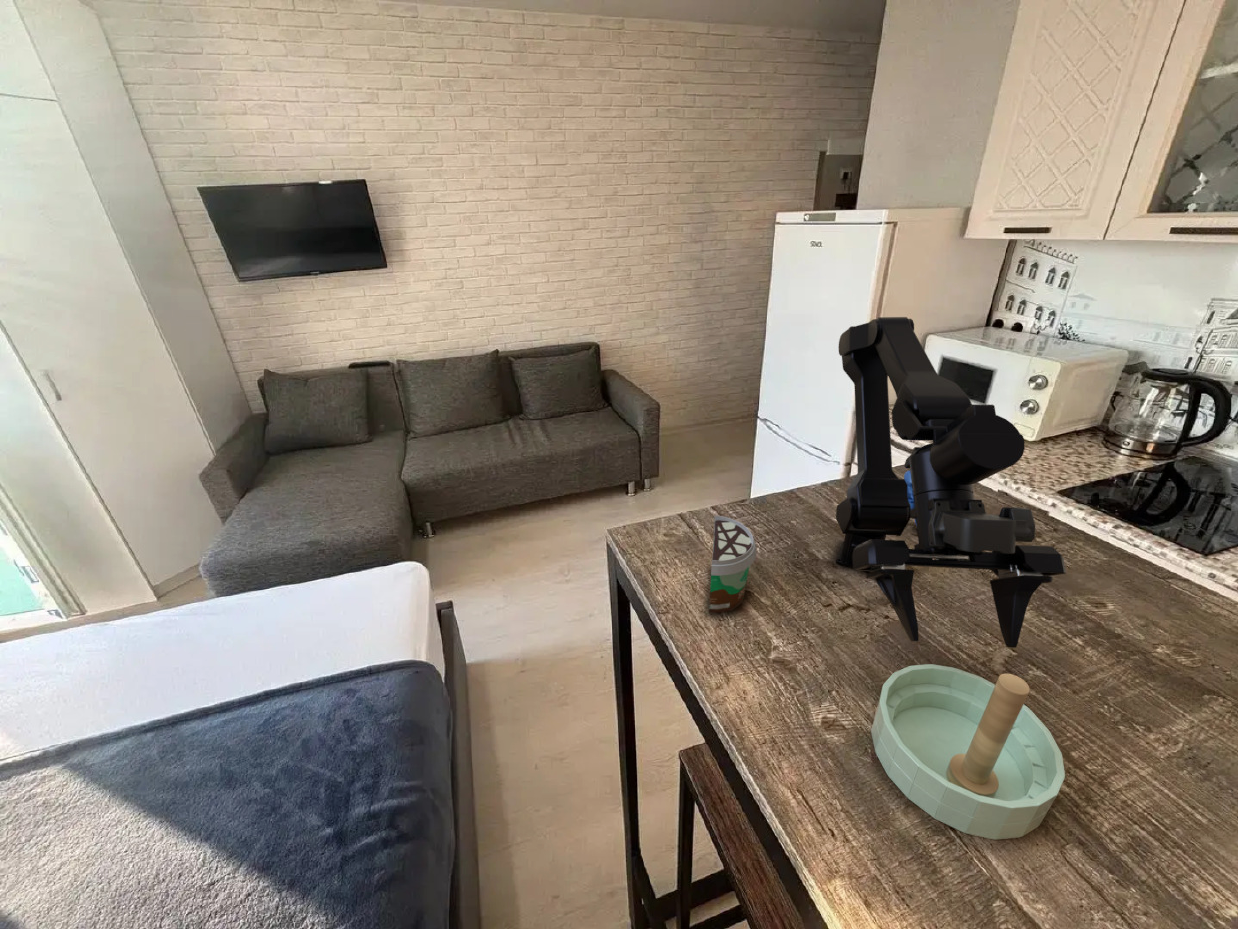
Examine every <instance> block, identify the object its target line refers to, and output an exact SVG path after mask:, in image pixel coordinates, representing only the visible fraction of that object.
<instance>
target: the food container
mask: <svg viewBox="0 0 1238 929" xmlns="http://www.w3.org/2000/svg"><path fill="white" fill-rule="evenodd" d="M713 520H714V524H713V538H712V554H711V556H712V557H711V558H712V559H711V565H710V566H711V567H710V568H711V569H710V570H711V571H710V585H709V586H710V587H709V602H708V603H709V606H708V613H710V614H713V613H714V614H719V613H726V612H729V611H732V610H734V609H736V608H738V606H739V605H741V603H742V602H743V600H744V597H745V592H746V587H747V582H748V576H749V571H750V566H751V565H752V564H753V563H754V562H755V560H756V557H757V545H756V541H755V538H754V536H753V534H752V532H751V530H750V529H749V528H748V527H747V526H746V525H744V524H743V523H741V522H740V521H738V520H735V519H733V518H730V517H727V516H722V515H716V514H715V515H714V519H713Z"/></svg>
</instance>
